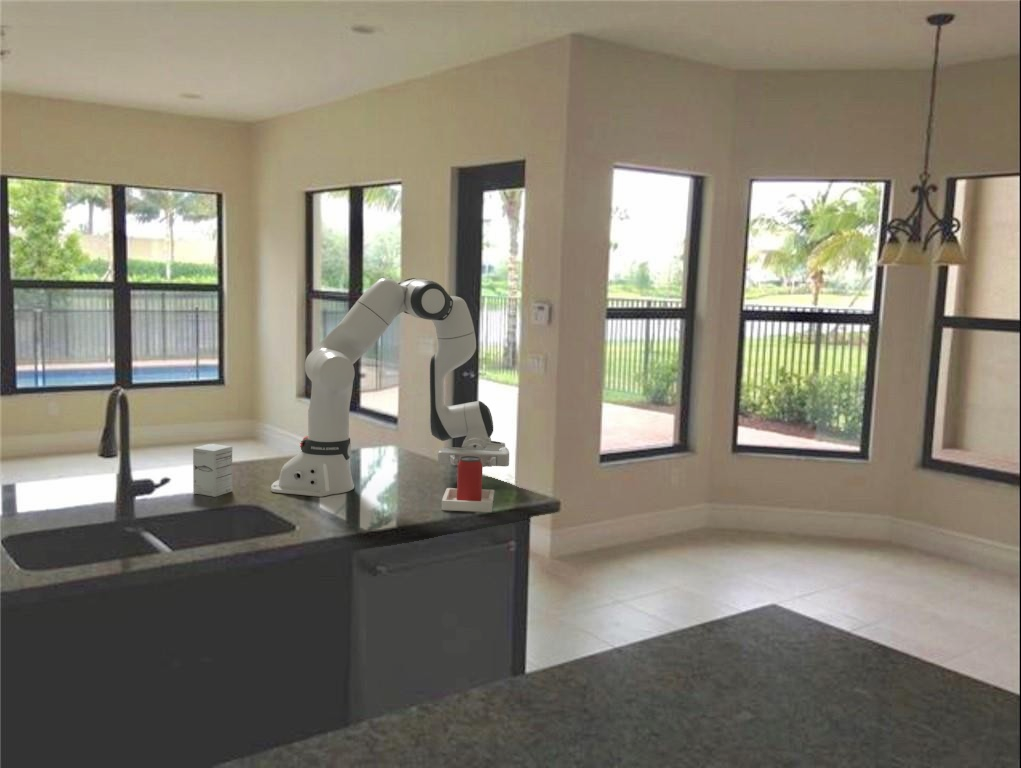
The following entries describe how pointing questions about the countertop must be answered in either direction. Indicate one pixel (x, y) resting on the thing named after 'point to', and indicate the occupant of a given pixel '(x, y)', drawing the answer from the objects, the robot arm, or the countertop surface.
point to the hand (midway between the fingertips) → (471, 463)
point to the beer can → (469, 479)
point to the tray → (467, 502)
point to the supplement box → (212, 470)
